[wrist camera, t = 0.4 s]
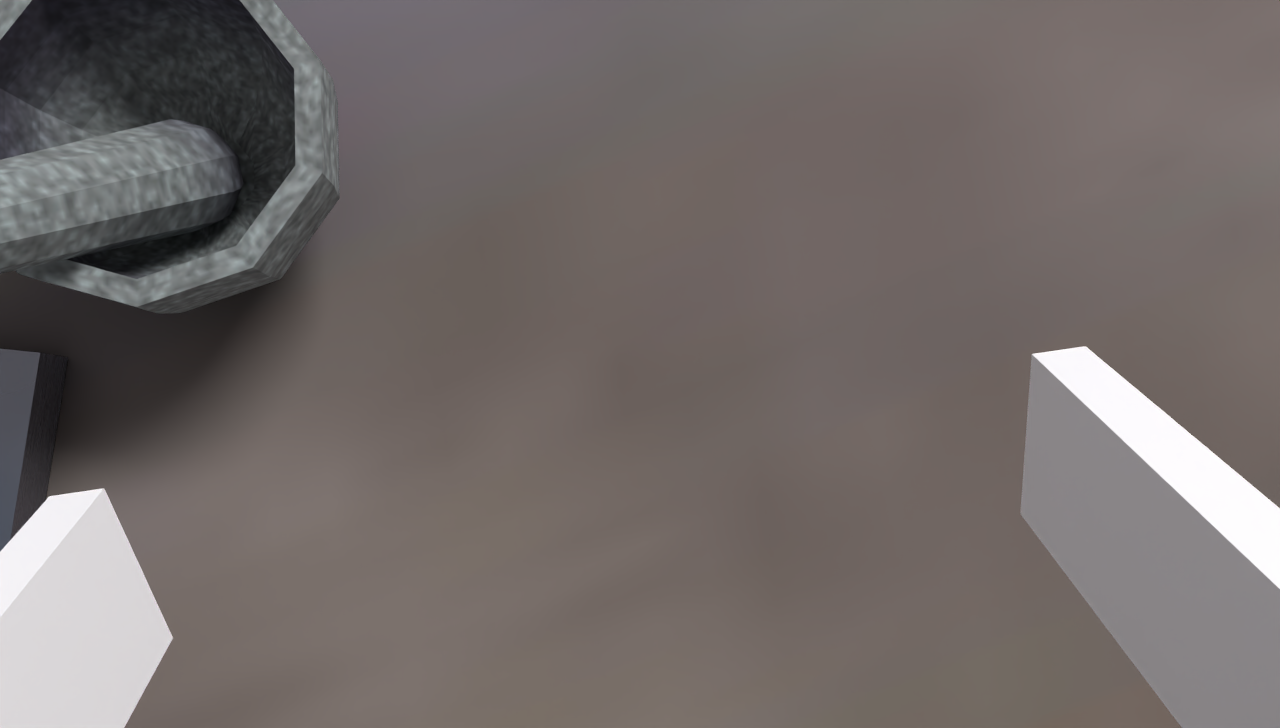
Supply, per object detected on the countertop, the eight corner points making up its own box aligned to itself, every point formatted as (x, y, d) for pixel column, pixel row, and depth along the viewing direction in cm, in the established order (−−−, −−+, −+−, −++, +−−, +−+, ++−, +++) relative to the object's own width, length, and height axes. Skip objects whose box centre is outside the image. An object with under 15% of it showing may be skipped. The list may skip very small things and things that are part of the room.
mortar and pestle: (202, -5, 31) (-21, -278, 19) (433, 150, 32) (353, -26, 20) (-7, 265, 30) (-382, 151, 18) (235, 426, 30) (22, 416, 18)
